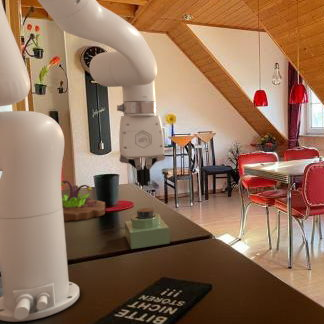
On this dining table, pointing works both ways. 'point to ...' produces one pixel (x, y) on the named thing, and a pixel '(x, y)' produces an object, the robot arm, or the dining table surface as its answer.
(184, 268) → the dining table surface
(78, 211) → the plant
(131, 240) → the button base
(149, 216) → the dark round button cap
